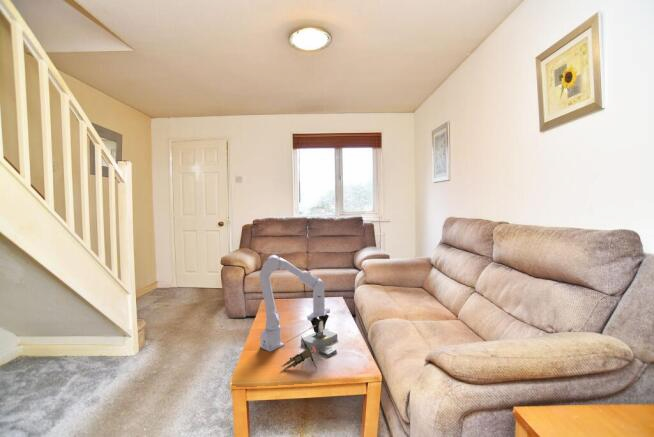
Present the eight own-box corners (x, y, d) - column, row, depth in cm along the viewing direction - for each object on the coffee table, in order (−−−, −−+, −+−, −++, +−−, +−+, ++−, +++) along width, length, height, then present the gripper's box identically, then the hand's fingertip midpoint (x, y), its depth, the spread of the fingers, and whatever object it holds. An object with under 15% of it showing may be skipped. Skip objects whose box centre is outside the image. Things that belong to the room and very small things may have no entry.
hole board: (315, 351, 141) (315, 344, 141) (300, 345, 148) (300, 338, 148) (337, 339, 153) (337, 333, 153) (322, 334, 160) (322, 328, 160)
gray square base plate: (328, 357, 135) (328, 354, 135) (318, 353, 139) (318, 350, 139) (336, 352, 139) (336, 349, 139) (326, 348, 143) (326, 345, 143)
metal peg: (313, 334, 150) (313, 320, 150) (319, 331, 153) (318, 318, 153) (319, 336, 147) (319, 322, 147) (325, 333, 150) (324, 319, 150)
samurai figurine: (292, 385, 127) (334, 360, 131) (289, 387, 119) (333, 360, 122) (277, 349, 134) (317, 326, 137) (272, 348, 125) (315, 323, 128)
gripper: (314, 309, 142) (315, 337, 142) (334, 301, 153) (334, 328, 153) (304, 306, 146) (304, 333, 147) (323, 299, 157) (324, 324, 158)
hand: (319, 330), depth 150 cm, fingers closed on metal peg, 4 cm apart
